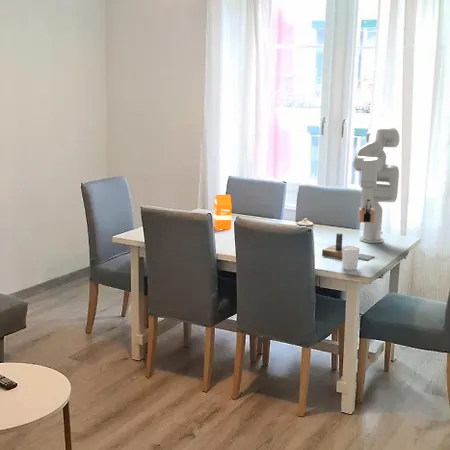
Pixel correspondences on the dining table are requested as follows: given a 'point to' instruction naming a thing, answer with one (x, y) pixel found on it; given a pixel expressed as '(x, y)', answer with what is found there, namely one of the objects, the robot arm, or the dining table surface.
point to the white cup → (350, 257)
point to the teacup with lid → (305, 223)
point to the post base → (334, 248)
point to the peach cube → (361, 215)
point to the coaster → (365, 257)
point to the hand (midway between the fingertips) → (366, 219)
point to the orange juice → (222, 212)
